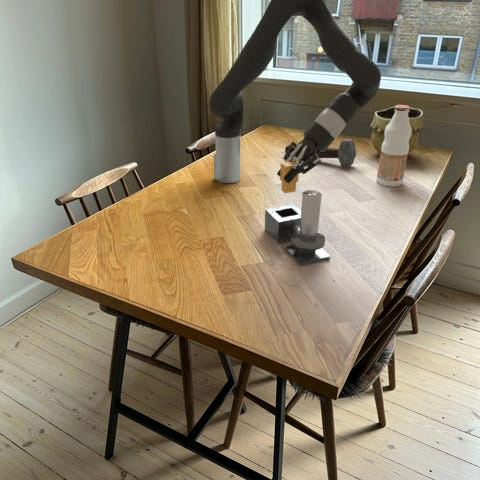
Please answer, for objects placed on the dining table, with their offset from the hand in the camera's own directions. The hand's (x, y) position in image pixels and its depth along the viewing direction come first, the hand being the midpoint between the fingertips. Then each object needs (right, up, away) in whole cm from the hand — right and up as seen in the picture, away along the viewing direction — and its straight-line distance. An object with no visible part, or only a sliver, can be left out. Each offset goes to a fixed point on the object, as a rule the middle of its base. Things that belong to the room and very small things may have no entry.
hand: (282, 178), depth 121 cm
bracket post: (+4, -18, +4) cm, 19 cm away
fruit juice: (+44, +5, +44) cm, 63 cm away
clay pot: (+54, +19, +69) cm, 90 cm away
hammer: (+21, +16, +64) cm, 70 cm away
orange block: (+2, -3, +3) cm, 5 cm away
